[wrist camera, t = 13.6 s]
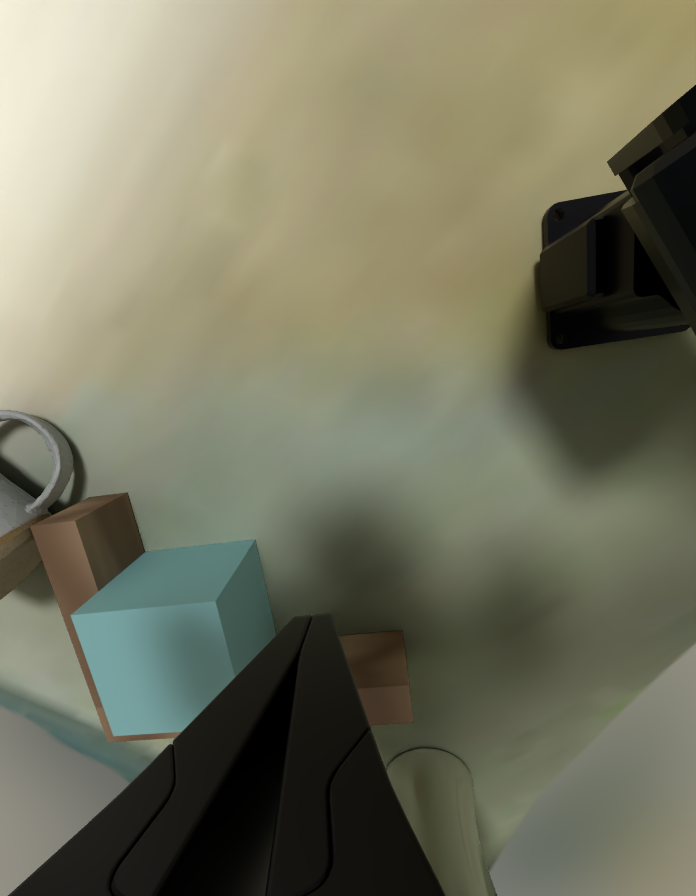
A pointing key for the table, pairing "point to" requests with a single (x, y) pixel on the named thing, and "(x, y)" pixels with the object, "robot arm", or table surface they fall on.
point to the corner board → (119, 544)
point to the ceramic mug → (28, 506)
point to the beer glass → (443, 818)
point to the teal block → (174, 633)
